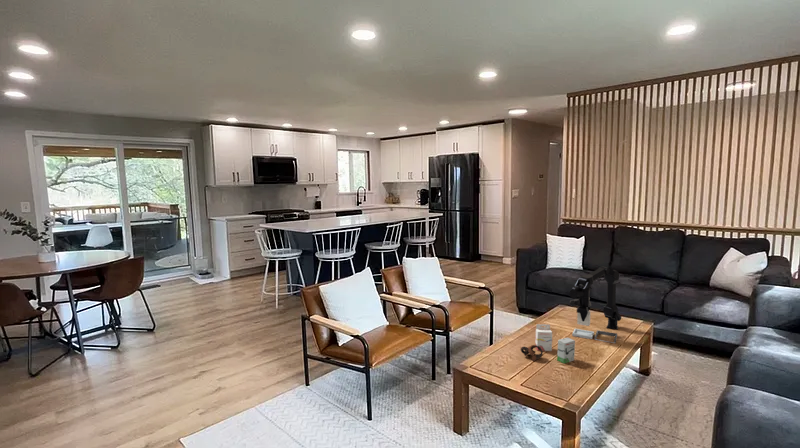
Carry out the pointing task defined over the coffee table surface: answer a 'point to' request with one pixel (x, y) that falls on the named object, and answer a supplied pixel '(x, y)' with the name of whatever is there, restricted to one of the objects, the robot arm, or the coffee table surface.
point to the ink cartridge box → (543, 337)
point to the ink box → (566, 350)
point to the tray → (583, 333)
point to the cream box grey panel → (586, 321)
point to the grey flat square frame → (606, 334)
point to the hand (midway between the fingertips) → (583, 319)
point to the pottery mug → (532, 352)
